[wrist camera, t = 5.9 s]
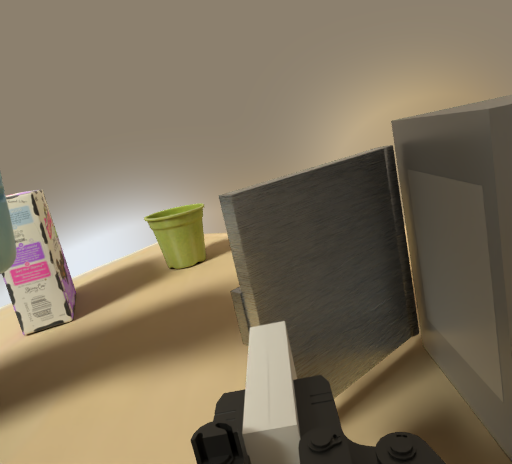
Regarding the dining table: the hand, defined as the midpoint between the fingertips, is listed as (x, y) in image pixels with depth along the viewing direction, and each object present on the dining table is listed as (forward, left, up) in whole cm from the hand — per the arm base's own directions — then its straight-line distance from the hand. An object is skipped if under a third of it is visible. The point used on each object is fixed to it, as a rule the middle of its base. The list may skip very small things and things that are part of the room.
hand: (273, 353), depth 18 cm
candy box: (-46, -13, -8) cm, 49 cm away
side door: (-6, +7, -6) cm, 11 cm away
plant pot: (-50, +7, -8) cm, 51 cm away
